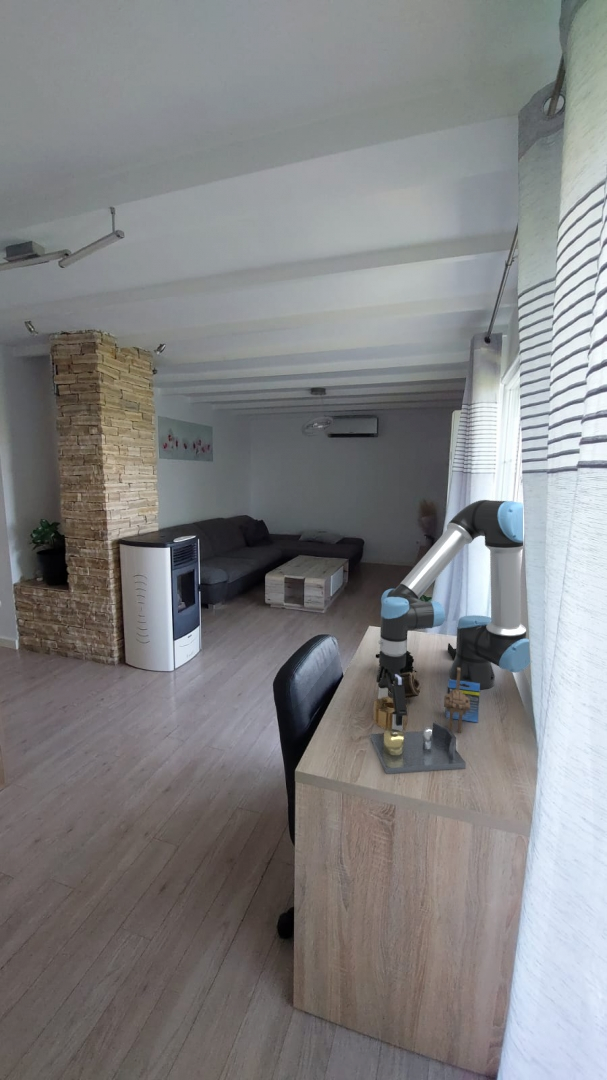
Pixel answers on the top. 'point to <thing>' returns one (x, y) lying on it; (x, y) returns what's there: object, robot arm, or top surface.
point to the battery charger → (451, 651)
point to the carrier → (418, 750)
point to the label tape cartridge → (473, 696)
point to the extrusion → (408, 665)
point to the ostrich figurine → (457, 704)
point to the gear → (385, 713)
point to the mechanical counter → (410, 684)
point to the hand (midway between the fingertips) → (389, 720)
